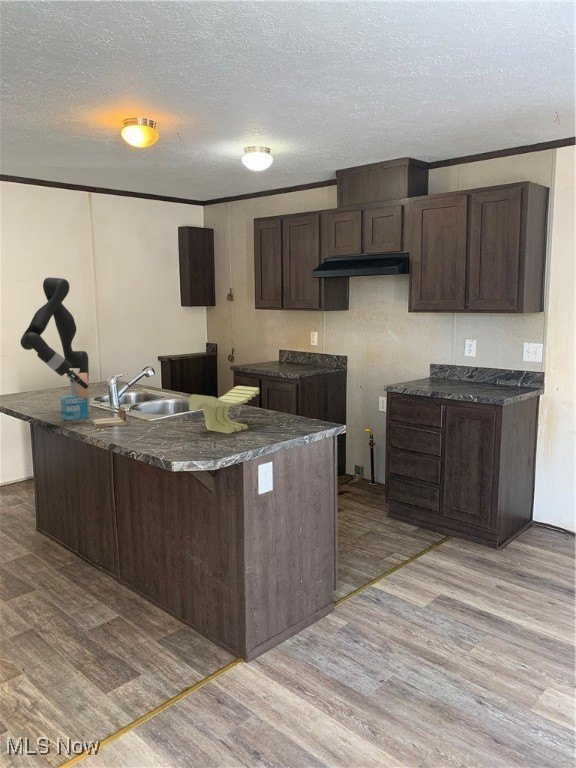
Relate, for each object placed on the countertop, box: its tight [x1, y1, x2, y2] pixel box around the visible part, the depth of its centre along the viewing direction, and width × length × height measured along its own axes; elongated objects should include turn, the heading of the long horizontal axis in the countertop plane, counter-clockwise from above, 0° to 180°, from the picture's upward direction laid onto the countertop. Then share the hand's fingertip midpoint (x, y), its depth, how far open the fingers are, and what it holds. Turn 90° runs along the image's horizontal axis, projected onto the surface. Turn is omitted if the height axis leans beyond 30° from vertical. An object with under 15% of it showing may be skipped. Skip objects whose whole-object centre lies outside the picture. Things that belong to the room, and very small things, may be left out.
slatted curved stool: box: [188, 385, 260, 434], centre depth 271 cm, size 30×16×18 cm, turn 143°
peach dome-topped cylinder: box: [75, 372, 90, 398], centre depth 287 cm, size 5×5×12 cm
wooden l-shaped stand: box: [92, 406, 127, 429], centre depth 285 cm, size 12×14×7 cm
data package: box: [60, 395, 89, 422], centre depth 299 cm, size 12×4×12 cm, turn 133°
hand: (86, 386), depth 288 cm, fingers closed on peach dome-topped cylinder, 5 cm apart
